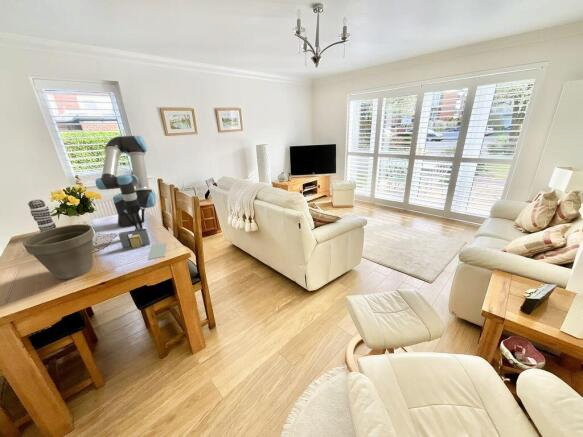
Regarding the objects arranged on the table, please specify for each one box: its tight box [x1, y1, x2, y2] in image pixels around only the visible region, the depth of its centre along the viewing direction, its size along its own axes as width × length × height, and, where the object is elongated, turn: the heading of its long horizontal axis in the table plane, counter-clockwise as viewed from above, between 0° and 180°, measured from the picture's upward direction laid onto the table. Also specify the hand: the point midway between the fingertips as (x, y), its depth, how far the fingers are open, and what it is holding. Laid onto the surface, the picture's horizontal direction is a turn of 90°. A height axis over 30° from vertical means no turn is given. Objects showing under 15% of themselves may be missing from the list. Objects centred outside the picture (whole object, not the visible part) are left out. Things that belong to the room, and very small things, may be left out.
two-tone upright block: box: [129, 227, 144, 249], centre depth 151 cm, size 16×4×6 cm, turn 22°
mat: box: [148, 242, 168, 261], centre depth 141 cm, size 18×8×1 cm, turn 22°
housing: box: [118, 228, 151, 250], centre depth 145 cm, size 3×14×10 cm, turn 112°
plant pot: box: [22, 223, 95, 280], centre depth 119 cm, size 25×25×22 cm
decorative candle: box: [27, 199, 57, 233], centre depth 163 cm, size 9×9×25 cm
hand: (140, 232), depth 160 cm, fingers closed
